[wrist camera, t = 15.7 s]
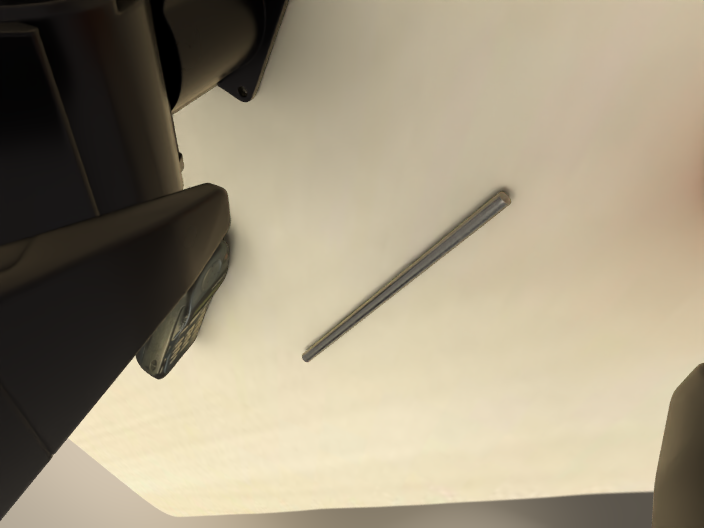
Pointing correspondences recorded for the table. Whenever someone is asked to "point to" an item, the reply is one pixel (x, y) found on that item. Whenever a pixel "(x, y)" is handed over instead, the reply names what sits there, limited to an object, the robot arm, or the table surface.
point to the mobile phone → (184, 319)
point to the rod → (413, 271)
